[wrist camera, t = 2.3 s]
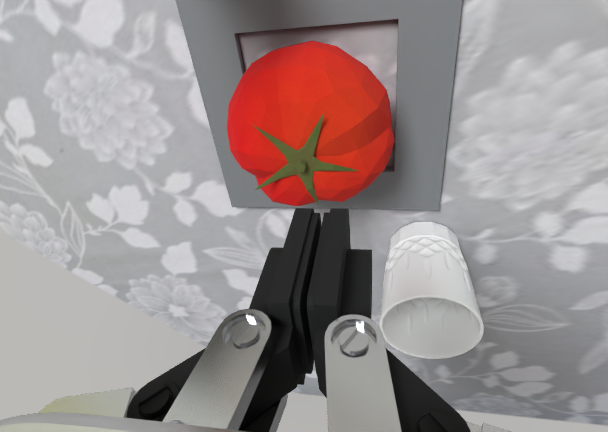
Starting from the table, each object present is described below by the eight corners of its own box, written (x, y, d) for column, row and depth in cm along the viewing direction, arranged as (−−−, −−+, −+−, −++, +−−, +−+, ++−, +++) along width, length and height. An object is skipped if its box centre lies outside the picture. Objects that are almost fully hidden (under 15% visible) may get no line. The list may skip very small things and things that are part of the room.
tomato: (237, 134, 35) (188, 197, 27) (273, 0, 28) (222, 31, 19) (357, 185, 35) (346, 262, 27) (423, 67, 28) (434, 124, 20)
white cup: (482, 251, 37) (505, 338, 29) (417, 285, 42) (421, 369, 34) (430, 201, 35) (440, 280, 27) (366, 242, 39) (359, 321, 31)
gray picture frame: (467, -62, 23) (469, -62, 23) (438, 206, 35) (438, 210, 35) (173, -24, 28) (169, -23, 27) (234, 203, 39) (232, 206, 39)
